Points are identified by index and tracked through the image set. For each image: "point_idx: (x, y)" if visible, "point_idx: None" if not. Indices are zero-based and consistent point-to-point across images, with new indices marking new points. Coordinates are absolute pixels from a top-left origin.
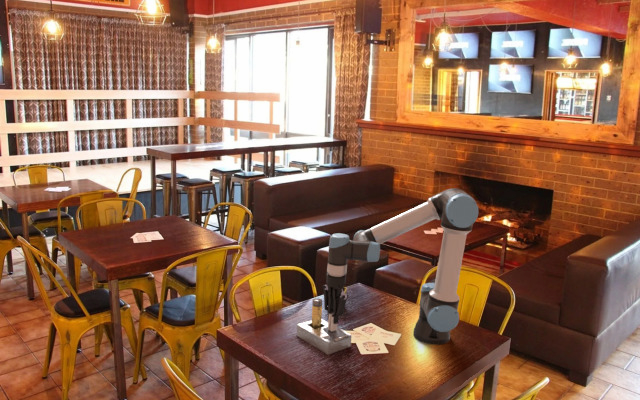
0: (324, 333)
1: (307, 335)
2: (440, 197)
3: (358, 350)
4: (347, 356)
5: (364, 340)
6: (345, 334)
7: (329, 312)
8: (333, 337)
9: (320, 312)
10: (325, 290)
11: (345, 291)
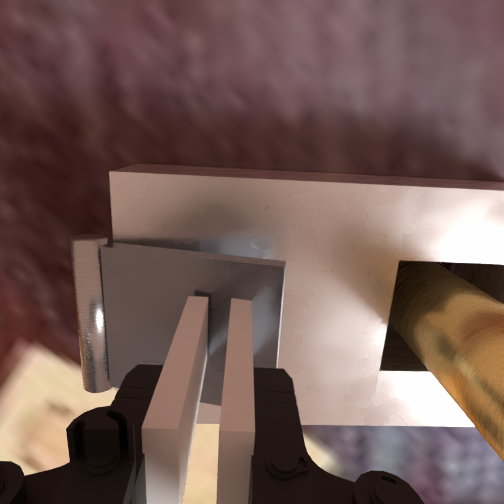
0: None
1: (407, 181)
2: None
3: (78, 363)
4: (46, 255)
5: None
6: (115, 378)
7: (254, 467)
8: (119, 252)
9: (491, 423)
10: None
11: None
